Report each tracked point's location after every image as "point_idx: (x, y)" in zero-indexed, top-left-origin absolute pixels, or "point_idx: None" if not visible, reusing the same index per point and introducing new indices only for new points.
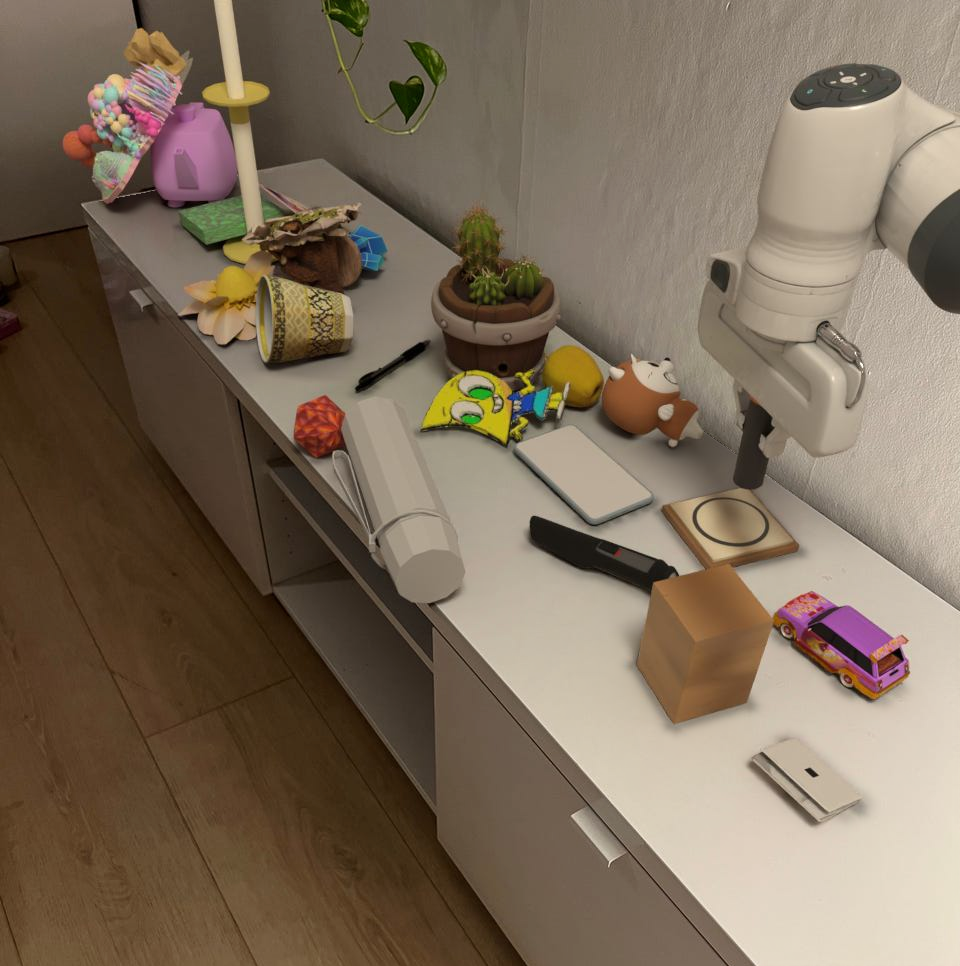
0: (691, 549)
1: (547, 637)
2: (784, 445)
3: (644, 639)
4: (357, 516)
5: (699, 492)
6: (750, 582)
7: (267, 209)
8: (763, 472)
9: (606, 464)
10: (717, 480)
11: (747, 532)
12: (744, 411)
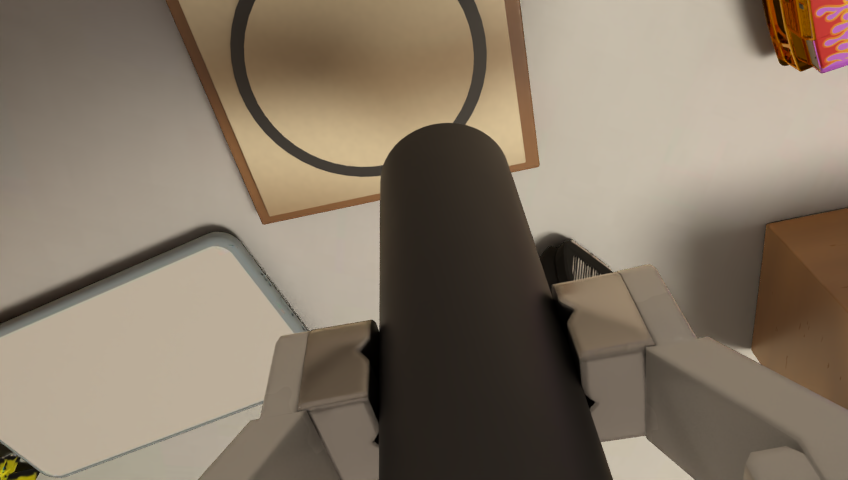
0: None
1: (626, 452)
2: (671, 302)
3: None
4: None
5: (161, 85)
6: (597, 54)
7: None
8: (515, 192)
9: (91, 325)
10: (80, 4)
11: (427, 28)
12: (340, 470)
